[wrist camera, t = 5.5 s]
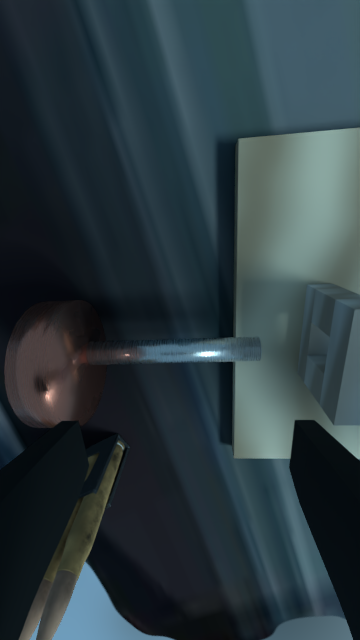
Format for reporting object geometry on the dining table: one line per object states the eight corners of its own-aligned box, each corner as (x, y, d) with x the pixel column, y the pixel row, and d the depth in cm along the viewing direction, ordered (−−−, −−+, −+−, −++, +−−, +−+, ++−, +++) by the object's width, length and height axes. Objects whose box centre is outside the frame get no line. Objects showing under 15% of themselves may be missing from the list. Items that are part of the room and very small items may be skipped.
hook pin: (251, 280, 16) (291, 317, 9) (248, 376, 18) (277, 461, 12) (67, 288, 17) (-17, 328, 10) (86, 379, 19) (29, 459, 13)
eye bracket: (466, 125, 13) (674, 45, 8) (380, 446, 21) (451, 531, 15) (235, 145, 14) (261, 89, 8) (232, 446, 22) (244, 526, 16)
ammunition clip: (45, 487, 25) (-79, 699, 14) (32, 475, 25) (-107, 684, 13) (130, 447, 23) (65, 665, 11) (118, 432, 22) (36, 645, 11)
